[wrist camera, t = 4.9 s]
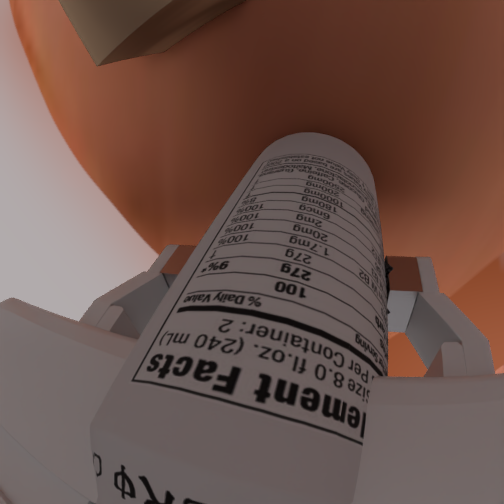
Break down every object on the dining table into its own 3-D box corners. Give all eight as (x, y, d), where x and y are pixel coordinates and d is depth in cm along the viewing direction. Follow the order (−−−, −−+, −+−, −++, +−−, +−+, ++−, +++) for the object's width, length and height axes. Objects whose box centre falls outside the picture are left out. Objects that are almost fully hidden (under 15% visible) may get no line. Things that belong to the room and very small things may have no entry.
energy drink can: (235, 191, 16) (65, 476, 5) (298, 101, 12) (32, 532, 1) (323, 252, 17) (252, 545, 6) (398, 180, 13) (416, 576, 2)
